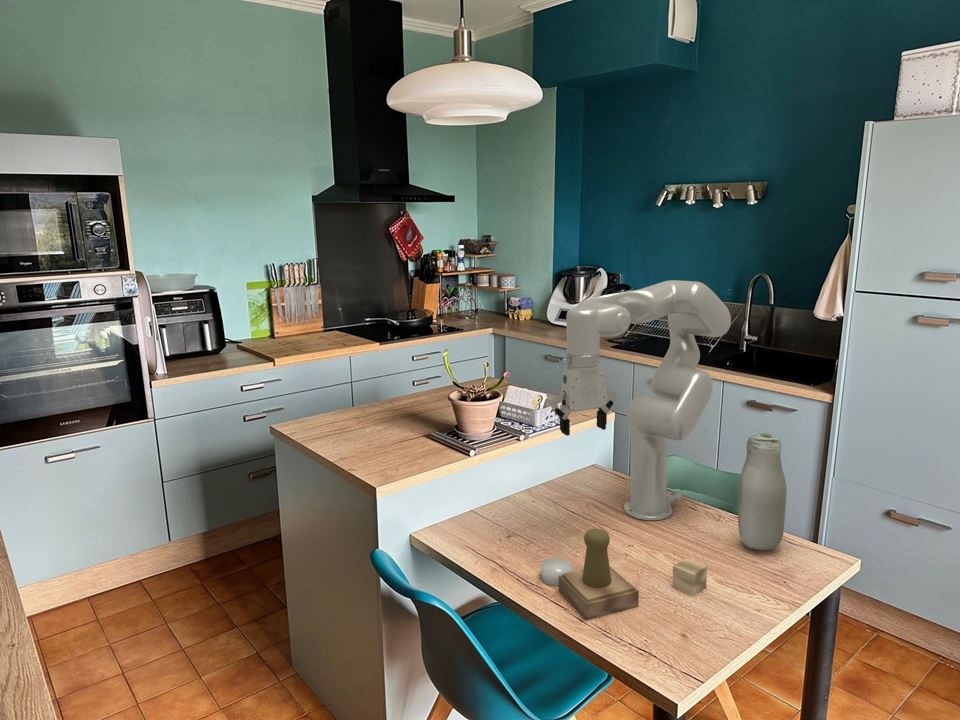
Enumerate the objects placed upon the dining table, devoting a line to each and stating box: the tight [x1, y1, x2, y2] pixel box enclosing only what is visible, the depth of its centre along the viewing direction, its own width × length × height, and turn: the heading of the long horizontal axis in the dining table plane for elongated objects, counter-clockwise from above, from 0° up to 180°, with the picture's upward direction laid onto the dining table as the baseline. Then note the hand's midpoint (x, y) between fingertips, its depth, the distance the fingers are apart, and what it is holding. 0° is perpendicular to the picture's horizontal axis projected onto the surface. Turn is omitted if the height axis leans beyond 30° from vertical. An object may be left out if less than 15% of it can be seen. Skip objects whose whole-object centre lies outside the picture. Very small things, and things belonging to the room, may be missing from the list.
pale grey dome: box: [540, 557, 574, 587], centre depth 152 cm, size 7×7×3 cm
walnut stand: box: [558, 566, 640, 621], centre depth 143 cm, size 12×12×4 cm
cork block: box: [671, 557, 708, 597], centre depth 146 cm, size 5×5×5 cm
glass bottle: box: [737, 432, 788, 551], centre depth 160 cm, size 10×10×28 cm
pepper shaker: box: [582, 527, 612, 588], centre depth 142 cm, size 6×6×11 cm
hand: (583, 431), depth 163 cm, fingers open, 9 cm apart
